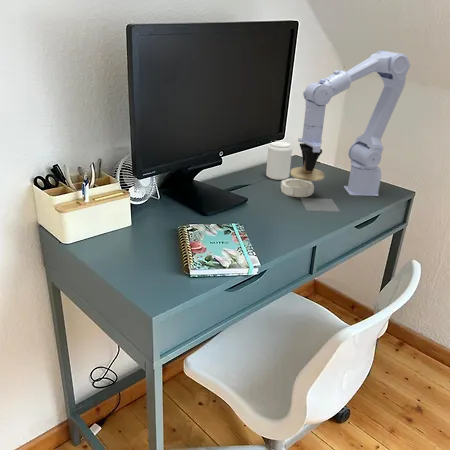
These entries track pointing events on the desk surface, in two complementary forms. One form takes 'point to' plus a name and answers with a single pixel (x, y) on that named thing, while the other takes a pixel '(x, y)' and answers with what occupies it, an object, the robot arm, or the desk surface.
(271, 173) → the beverage can
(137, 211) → the desk surface
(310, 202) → the mat
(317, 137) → the robot arm
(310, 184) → the bowl
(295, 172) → the lid
